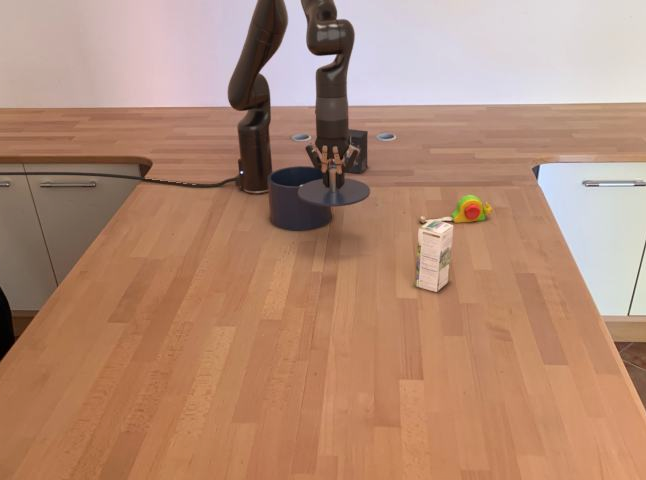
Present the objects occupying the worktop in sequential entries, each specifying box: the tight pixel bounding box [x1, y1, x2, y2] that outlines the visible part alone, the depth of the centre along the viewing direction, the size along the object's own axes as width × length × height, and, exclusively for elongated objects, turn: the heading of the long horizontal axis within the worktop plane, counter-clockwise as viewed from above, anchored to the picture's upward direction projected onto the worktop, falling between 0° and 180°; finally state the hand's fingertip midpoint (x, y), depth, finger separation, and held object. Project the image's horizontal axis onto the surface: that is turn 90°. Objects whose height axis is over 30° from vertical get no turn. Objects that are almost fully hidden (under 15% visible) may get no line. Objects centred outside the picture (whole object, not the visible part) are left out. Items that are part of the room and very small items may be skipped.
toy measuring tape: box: [419, 194, 493, 224], centre depth 189 cm, size 6×19×7 cm, turn 95°
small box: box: [329, 128, 369, 175], centre depth 225 cm, size 13×7×12 cm, turn 68°
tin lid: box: [298, 169, 371, 208], centre depth 171 cm, size 18×18×6 cm
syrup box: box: [414, 220, 454, 293], centre depth 157 cm, size 6×6×14 cm
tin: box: [267, 165, 332, 232], centre depth 192 cm, size 17×17×12 cm
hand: (333, 186), depth 171 cm, fingers closed on tin lid, 2 cm apart
